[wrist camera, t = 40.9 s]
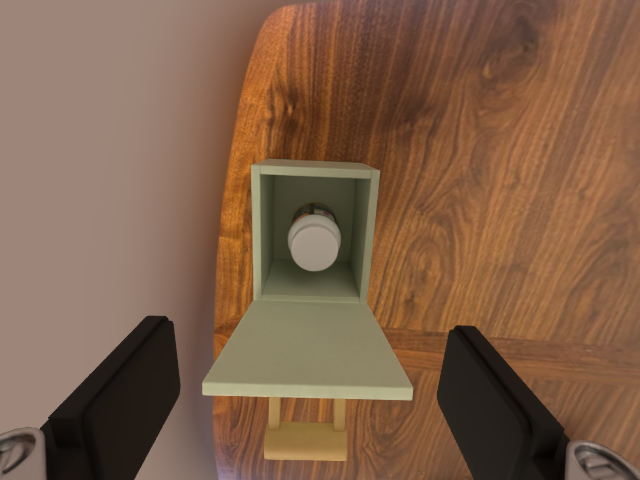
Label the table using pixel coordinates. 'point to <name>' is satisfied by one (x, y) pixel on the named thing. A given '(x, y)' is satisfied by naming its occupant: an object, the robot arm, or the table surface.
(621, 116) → the table surface
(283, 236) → the chest
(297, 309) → the lid
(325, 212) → the pill bottle
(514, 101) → the table surface
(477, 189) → the table surface
